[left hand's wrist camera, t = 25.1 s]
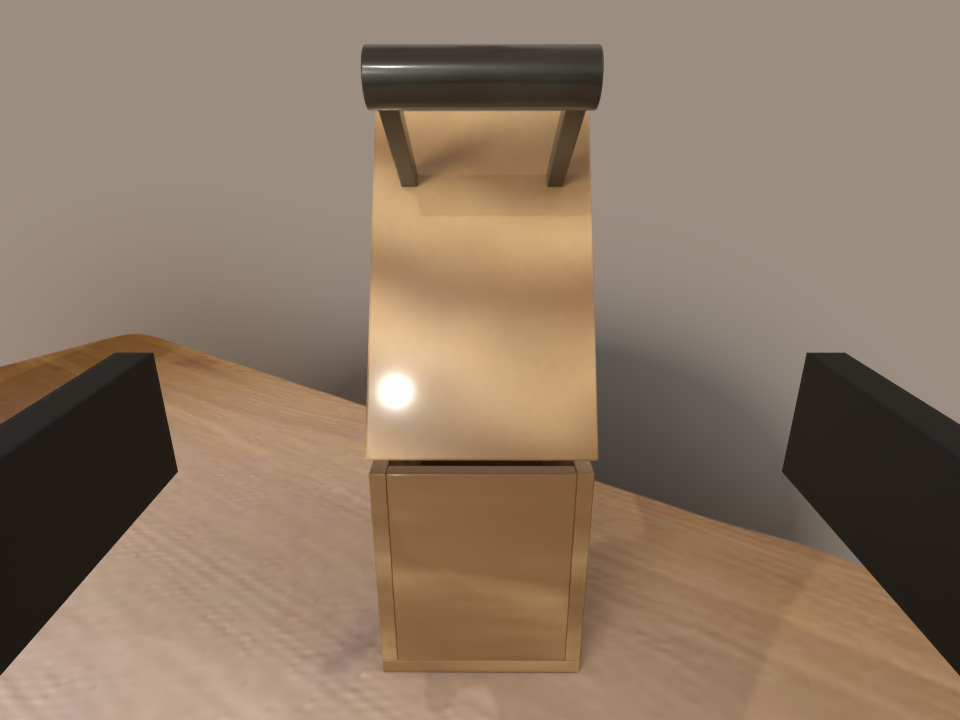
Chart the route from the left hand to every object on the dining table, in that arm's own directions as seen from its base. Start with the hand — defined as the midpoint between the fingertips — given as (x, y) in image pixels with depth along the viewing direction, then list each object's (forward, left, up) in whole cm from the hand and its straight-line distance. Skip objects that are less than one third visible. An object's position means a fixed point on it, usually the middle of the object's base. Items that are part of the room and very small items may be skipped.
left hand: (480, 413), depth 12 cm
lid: (+10, -11, -1) cm, 15 cm away
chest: (+12, -13, -19) cm, 26 cm away
